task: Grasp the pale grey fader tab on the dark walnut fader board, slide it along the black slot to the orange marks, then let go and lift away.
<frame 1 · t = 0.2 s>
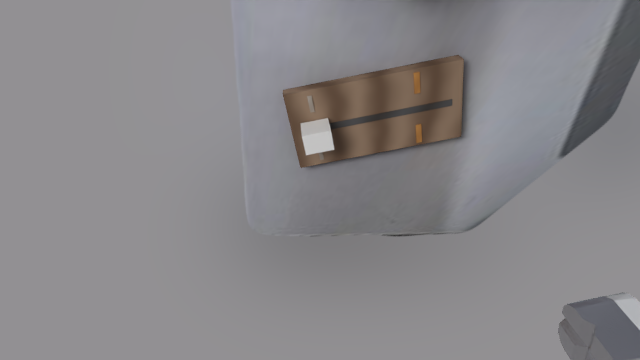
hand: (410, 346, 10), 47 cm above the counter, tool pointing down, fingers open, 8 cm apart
fader tab: (317, 136, 55), point 4 cm above the counter, slide at 0.0 cm
fader board: (374, 111, 58), on the counter
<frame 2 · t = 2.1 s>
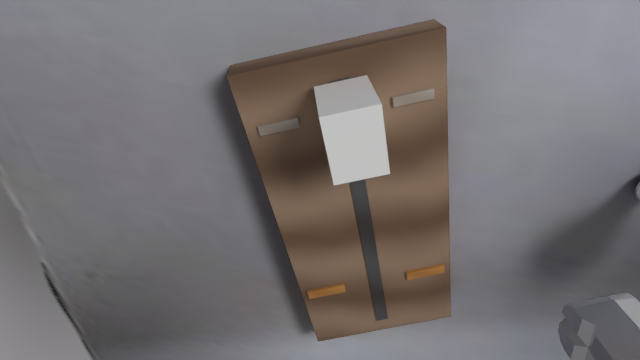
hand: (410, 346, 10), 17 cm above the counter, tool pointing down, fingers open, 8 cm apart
fader tab: (350, 129, 21), point 4 cm above the counter, slide at 0.0 cm
fader board: (361, 208, 30), on the counter
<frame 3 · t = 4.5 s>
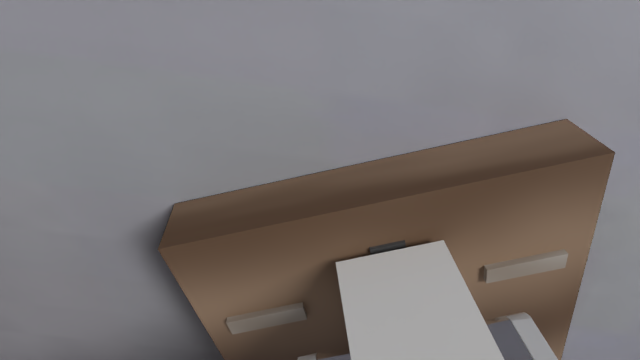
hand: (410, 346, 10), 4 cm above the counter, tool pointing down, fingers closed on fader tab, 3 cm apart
fader tab: (414, 359, 10), point 4 cm above the counter, slide at 0.0 cm, touching gripper
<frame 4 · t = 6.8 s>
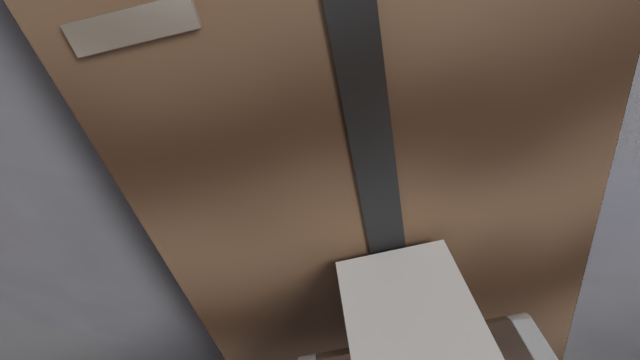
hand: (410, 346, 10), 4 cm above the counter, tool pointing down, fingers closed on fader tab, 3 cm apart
fader tab: (415, 359, 10), point 4 cm above the counter, slide at 8.9 cm, touching gripper
fader board: (380, 247, 14), on the counter
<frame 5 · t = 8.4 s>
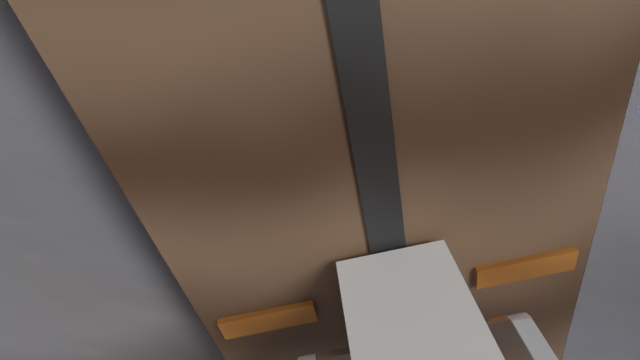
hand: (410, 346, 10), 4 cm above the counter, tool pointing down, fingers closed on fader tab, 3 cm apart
fader tab: (414, 359, 10), point 4 cm above the counter, slide at 14.9 cm, touching gripper
fader board: (354, 86, 10), on the counter
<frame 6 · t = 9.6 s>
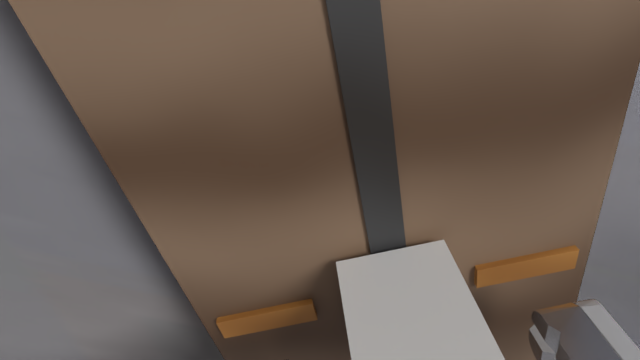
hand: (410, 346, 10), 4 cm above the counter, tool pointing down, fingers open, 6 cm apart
fader tab: (414, 359, 10), point 4 cm above the counter, slide at 15.0 cm
fader board: (354, 84, 10), on the counter
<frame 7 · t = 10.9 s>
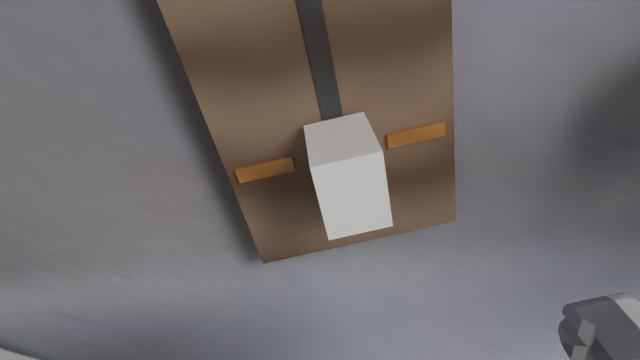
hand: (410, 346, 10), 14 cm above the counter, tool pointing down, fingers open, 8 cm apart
fader tab: (346, 174, 18), point 4 cm above the counter, slide at 15.0 cm
fader board: (312, 24, 19), on the counter
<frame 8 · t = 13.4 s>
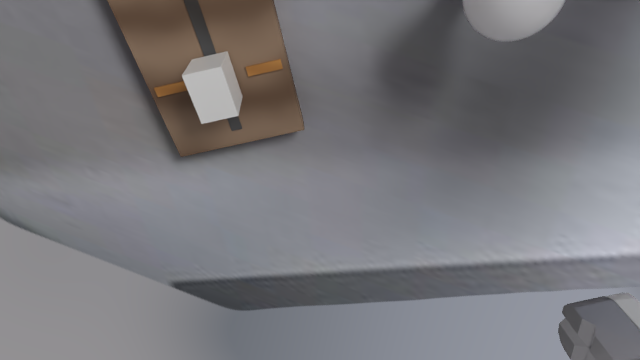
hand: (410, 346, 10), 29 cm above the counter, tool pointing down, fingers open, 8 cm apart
fader tab: (214, 87, 31), point 4 cm above the counter, slide at 15.0 cm
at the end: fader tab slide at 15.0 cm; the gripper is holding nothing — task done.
